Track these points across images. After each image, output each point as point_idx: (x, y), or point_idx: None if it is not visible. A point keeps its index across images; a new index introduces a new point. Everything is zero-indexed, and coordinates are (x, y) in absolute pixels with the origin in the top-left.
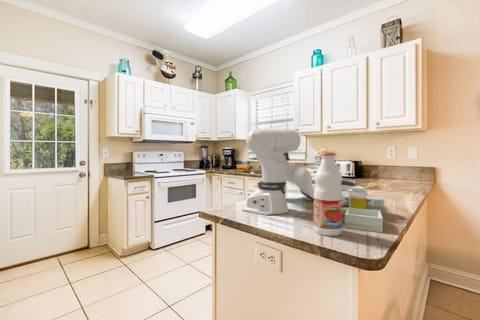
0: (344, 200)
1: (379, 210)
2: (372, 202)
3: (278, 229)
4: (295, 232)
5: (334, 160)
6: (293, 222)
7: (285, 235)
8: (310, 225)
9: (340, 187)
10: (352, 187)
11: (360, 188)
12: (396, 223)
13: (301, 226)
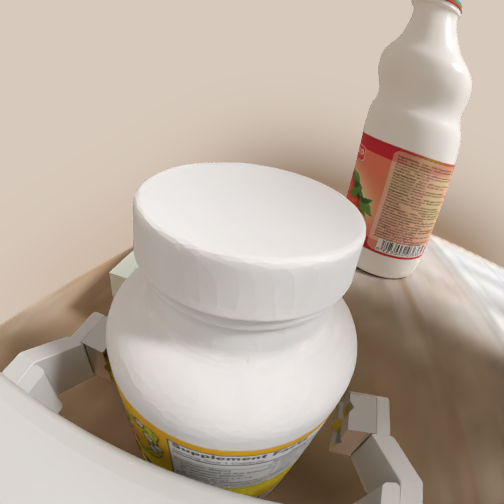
0: (379, 398)
1: (115, 271)
2: (68, 339)
3: (478, 265)
4: (440, 252)
5: (413, 12)
6: (489, 311)
7: (446, 241)
8: (438, 293)
9: (379, 94)
10: (350, 203)
11: (233, 163)
12: (37, 327)
13: (453, 284)
